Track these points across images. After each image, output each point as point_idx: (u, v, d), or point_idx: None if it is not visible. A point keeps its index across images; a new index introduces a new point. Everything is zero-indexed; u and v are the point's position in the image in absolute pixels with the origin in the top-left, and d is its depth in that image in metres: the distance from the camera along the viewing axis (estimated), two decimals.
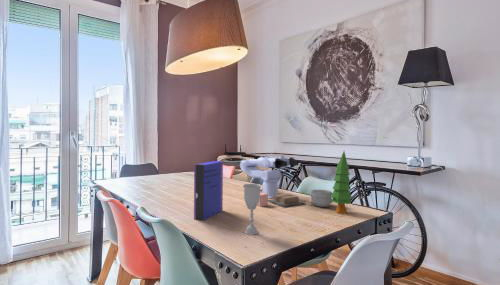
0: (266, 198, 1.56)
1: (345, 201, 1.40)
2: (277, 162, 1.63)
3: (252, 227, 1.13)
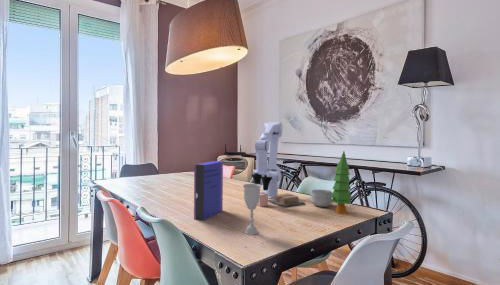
0: (266, 198, 1.56)
1: (345, 201, 1.40)
2: None
3: (252, 227, 1.13)
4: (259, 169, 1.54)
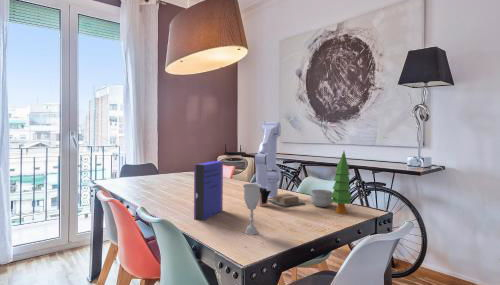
0: None
1: (345, 201, 1.40)
2: None
3: (252, 227, 1.13)
4: (259, 183, 1.54)
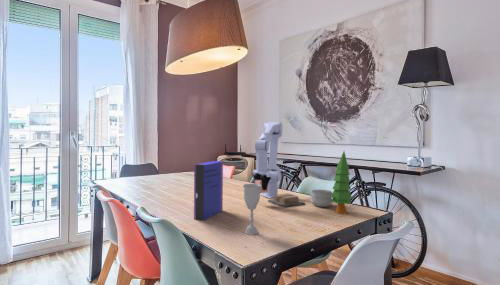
0: None
1: (345, 201, 1.40)
2: None
3: (252, 227, 1.13)
4: (259, 169, 1.54)
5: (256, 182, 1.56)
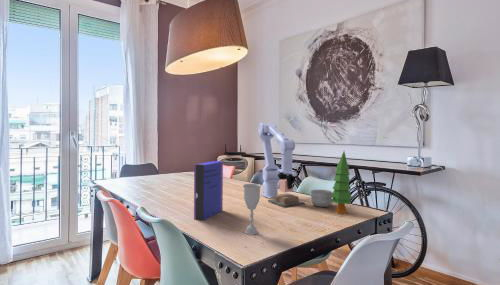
0: None
1: (345, 201, 1.40)
2: None
3: (252, 227, 1.13)
4: (284, 168, 1.58)
5: (281, 182, 1.60)
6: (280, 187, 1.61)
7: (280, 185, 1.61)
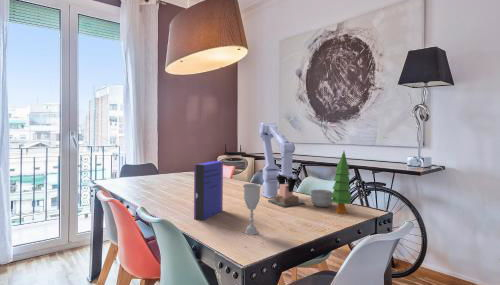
0: None
1: (345, 201, 1.40)
2: None
3: (252, 227, 1.13)
4: (284, 171, 1.58)
5: (281, 187, 1.60)
6: (280, 192, 1.61)
7: (280, 190, 1.61)
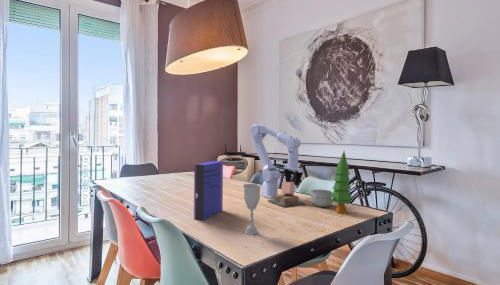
0: (293, 187, 1.63)
1: (345, 201, 1.40)
2: None
3: (252, 227, 1.13)
4: (291, 165, 1.65)
5: (284, 184, 1.62)
6: (283, 189, 1.61)
7: (283, 187, 1.62)
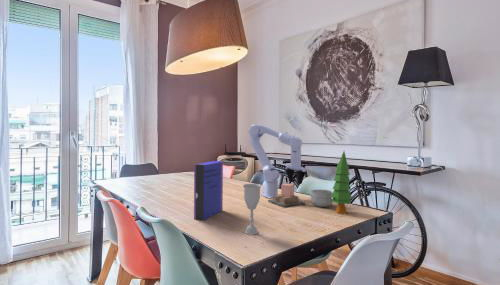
0: (293, 188, 1.62)
1: (345, 201, 1.40)
2: None
3: (252, 227, 1.13)
4: (294, 164, 1.68)
5: (284, 187, 1.60)
6: (283, 192, 1.61)
7: (283, 190, 1.61)
